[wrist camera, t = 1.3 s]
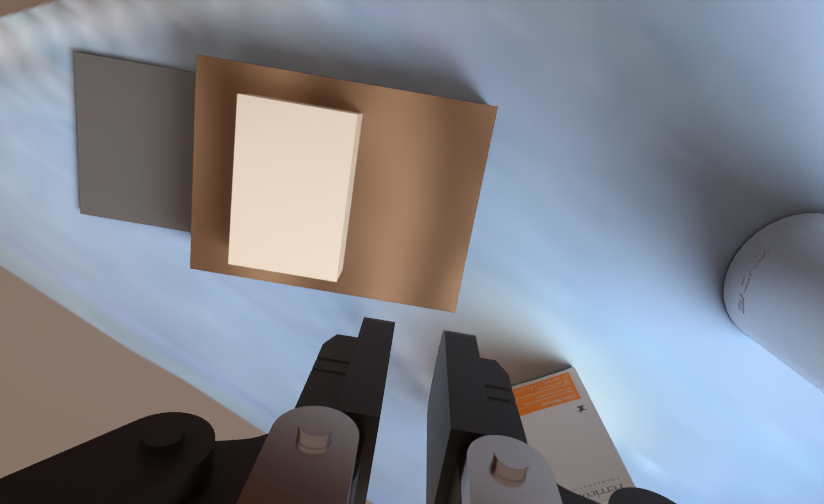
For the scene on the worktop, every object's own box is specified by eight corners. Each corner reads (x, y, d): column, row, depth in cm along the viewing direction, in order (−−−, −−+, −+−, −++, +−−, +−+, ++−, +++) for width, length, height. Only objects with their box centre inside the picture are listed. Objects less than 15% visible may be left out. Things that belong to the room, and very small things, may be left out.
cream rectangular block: (362, 113, 26) (357, 114, 24) (342, 270, 29) (336, 282, 27) (251, 94, 26) (237, 93, 24) (241, 253, 29) (228, 264, 27)
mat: (217, 76, 30) (215, 76, 29) (211, 233, 33) (208, 235, 32) (78, 52, 29) (73, 51, 29) (84, 212, 32) (80, 213, 32)
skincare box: (573, 363, 34) (644, 493, 23) (589, 412, 36) (665, 559, 24) (491, 389, 35) (520, 527, 24) (510, 436, 36) (546, 589, 25)
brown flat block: (489, 105, 30) (497, 106, 26) (451, 288, 33) (454, 312, 29) (226, 60, 29) (196, 54, 25) (218, 248, 33) (190, 268, 29)
